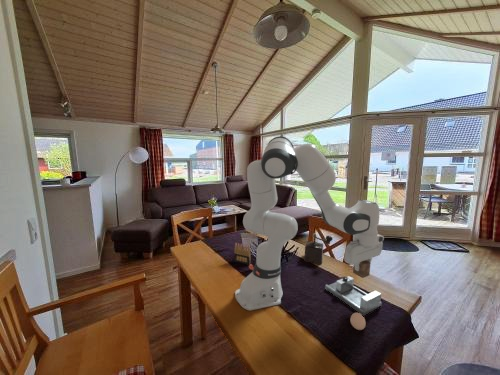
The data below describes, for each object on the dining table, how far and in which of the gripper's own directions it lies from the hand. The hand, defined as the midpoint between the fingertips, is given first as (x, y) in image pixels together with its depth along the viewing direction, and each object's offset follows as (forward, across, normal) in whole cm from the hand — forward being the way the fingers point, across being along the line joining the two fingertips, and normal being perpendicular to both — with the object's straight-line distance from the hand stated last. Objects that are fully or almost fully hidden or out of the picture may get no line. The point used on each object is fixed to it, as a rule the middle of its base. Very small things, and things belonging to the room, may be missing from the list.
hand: (361, 268), depth 91 cm
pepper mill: (+17, +12, +37) cm, 42 cm away
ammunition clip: (+16, -31, +55) cm, 65 cm away
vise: (+16, 0, +4) cm, 17 cm away
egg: (+16, -13, -9) cm, 23 cm away
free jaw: (+15, 0, +7) cm, 16 cm away
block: (+3, 0, 0) cm, 3 cm away
